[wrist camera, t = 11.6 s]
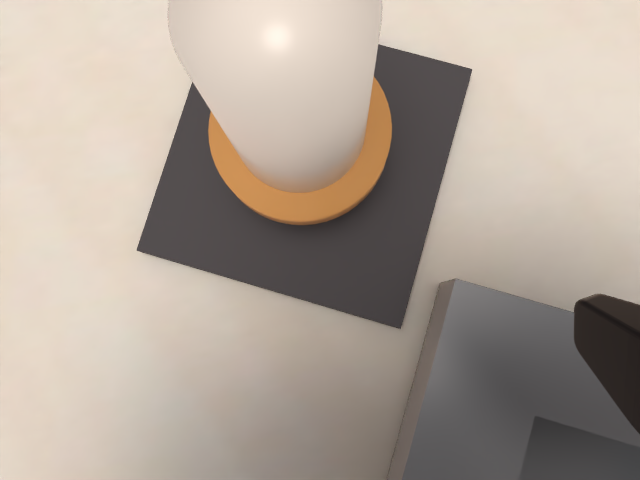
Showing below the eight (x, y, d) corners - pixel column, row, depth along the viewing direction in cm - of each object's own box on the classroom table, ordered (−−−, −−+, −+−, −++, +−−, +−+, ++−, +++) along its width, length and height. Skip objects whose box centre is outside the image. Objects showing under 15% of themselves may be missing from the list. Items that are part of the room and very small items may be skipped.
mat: (468, 75, 23) (472, 68, 22) (399, 328, 22) (400, 328, 21) (221, 10, 23) (218, 2, 23) (141, 252, 22) (136, 250, 22)
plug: (389, 95, 22) (438, -117, 11) (374, 243, 21) (411, 171, 11) (241, 81, 22) (148, -140, 11) (221, 227, 22) (103, 140, 11)
